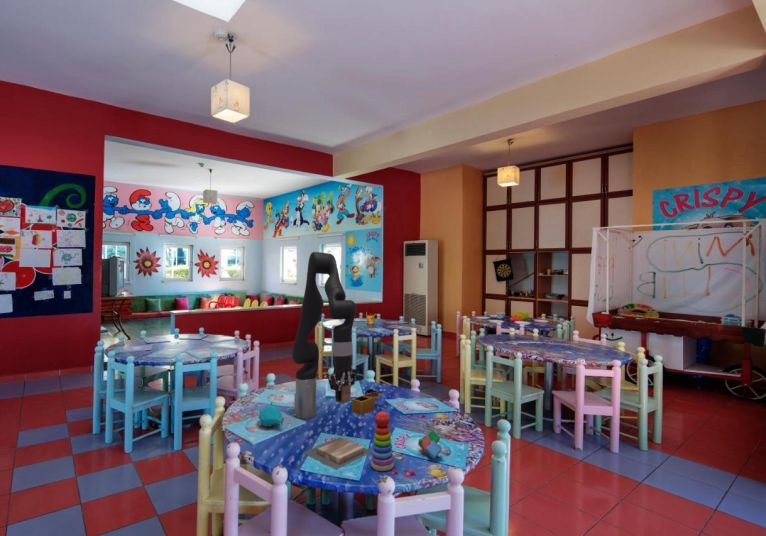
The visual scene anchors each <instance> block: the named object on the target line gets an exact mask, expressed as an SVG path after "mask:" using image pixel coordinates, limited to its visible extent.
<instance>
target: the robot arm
mask: <svg viewBox="0 0 766 536" xmlns="http://www.w3.org/2000/svg"><path fill="white" fill-rule="evenodd" d="M317 274H319V275H328V278H327V279H326V281H325V283H324V292H325V294H326V295H325V296H326V298H327V301H328V307H327V308H328V309H327V313H328V316H329V317H330V318H331V320H332V319H333V320H344V321H343V323H341V324H338V325H335V326H333V328H332V329H333V330H332V342H333V343H332V366H333V372H332V373H331V374H327V376H326V377H327V380H328V385H329V387H330V390H333V391H334V398H335V401H336V400H337V401H341V386H342V385H343V383H344V384H348V385H351V387H352V386H354V385H355V384H356V383H355V382H356V377H357V373H358V369H356V368H352V366H353V360H354V359H353V358H354V357H353V355H354V354H353V341H352V340H353V337H352V335H353V326H354V322H355V318H356V314H357V304H356V303H355V302H354V301H353V300H352V299H351V300H350V299H346V298H347V296H346V291H345V290H344V288H343V285H342V283H341V280H340V274H339V269H338V265H337V260H336V258H335V256H334V254H332V253H329V252H321V251H320V252H319V251H313V252H311V253H310V255H309V258H308V263H307V273H306V282H305V288H304V295H303V300H302V303H301V310H300V317H299V322H298V328H297V331H296V332H297V333H296V334H295V338H294V342H293V347H292V353H291V355H292V360H293V362H294V363H295V364H297V365H301V364H303V366H302V367H301V368H299V369H298V370H296V372H295V393H294V403H293V404H294V406H293V407H294V411H293V412H294V415H295V414H296V415H295V417H296V418H297V419H311V418H314V417H315V416H316V415H317V375H318V374H317V373H318V370H319V359H320V350H319V346H318V344H317V342H316V341H313V340H311V341H308V340H309V338H310V335H311V333H312V332H313V330H315V328H316V327H317V325H318V324H319V322H320V320H321V319H322V315H323V309H324V300H323V299H324V298H323V296H322V295H321V292H320V291H319V288H318V284H317Z"/></svg>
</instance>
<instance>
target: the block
mask: <svg viewBox="0 0 766 536" xmlns="http://www.w3.org/2000/svg"><path fill="white" fill-rule="evenodd" d="M351 390H352V386H351V385H348V384H344V382H343V385H342V386H341V401H337V400H336V399H335V402H336V403H339V404H346V403H348V402H352V398H351V395H352V392H351Z"/></svg>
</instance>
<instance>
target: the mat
mask: <svg viewBox="0 0 766 536" xmlns="http://www.w3.org/2000/svg"><path fill="white" fill-rule="evenodd" d="M339 438H341V437H340V436H339V437H338V438H335V439H333V440H329V441H328V442H325V443H322V444H320V445H318V446H316V447H313V448H311V449H309V450H306V451H304V452H302V454H304V455H306V456H307V457H310V458H312V459H314V460H316V461H317V462H320V463H322V464H324V465H325V466H327V467H330V468H332V469H333V470H339V469H341V468H343V467H345V466H346V465H349V464H351V463H353V462H355V461H357V460H359V459H361V458H363V457H365V456H367V455H369V454H372V450H371V449H368V448H366V447H364V453H362V454H360V455H358V456H356V457H354V458H352V459H350V460H348V461H346V462H343V463H341V464H337V463H335V462H333V461H331V460H329V459H327V458H325V457H323V456H321V455H319V454H317V448H318V447H320V446H323V445H325V444H327V443H330V442H332V441H334V440H337V439H339Z"/></svg>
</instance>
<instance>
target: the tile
mask: <svg viewBox="0 0 766 536" xmlns="http://www.w3.org/2000/svg"><path fill="white" fill-rule="evenodd" d="M338 438H339V437H338ZM336 439H337V438H336ZM333 440H334V441H332V440H331V441H332V442H330V441H329V442H330V443H327V442H326V443H327V444H325V443H324V444H325V445H323V444H322V445H323V446H320V445H319V446H320V447H318V446H317V447H318V448H317V454H319V455H321V456H323V457H325V458H327V459H329V460H331V461H333V462H335V463H337V464H341V463H343V462H346V461H348V460H350V459H352V458H354V457H356V456H358V455H360V454H362V453H364V448H365V447H364V446H362V445H360V444H357V443H355V442H352V441H350V440H348V439H346V438H344V437H340V438H339V439H337V440H335V439H333Z"/></svg>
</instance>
